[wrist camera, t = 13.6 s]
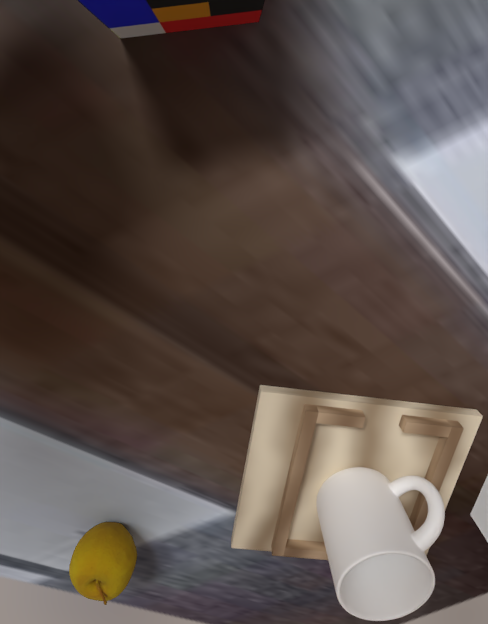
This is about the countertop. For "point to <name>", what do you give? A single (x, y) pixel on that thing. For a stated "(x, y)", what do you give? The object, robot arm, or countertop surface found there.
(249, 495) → the board
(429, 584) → the mug
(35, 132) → the countertop surface
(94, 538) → the apple
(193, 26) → the puzzle toy
